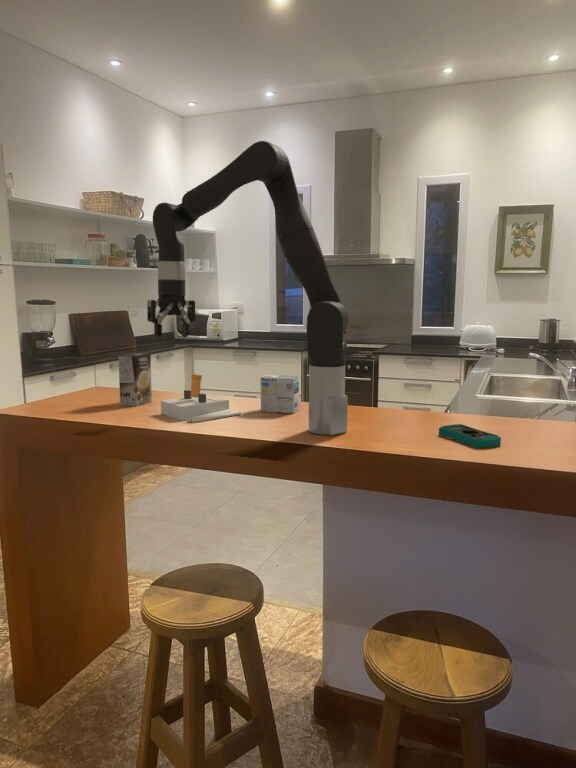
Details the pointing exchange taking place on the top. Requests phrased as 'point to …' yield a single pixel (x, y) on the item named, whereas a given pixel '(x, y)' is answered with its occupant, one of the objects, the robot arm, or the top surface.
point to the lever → (195, 385)
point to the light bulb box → (280, 393)
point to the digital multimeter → (470, 436)
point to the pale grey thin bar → (208, 415)
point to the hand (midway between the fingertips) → (172, 337)
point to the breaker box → (193, 406)
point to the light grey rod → (216, 416)
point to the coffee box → (135, 379)
